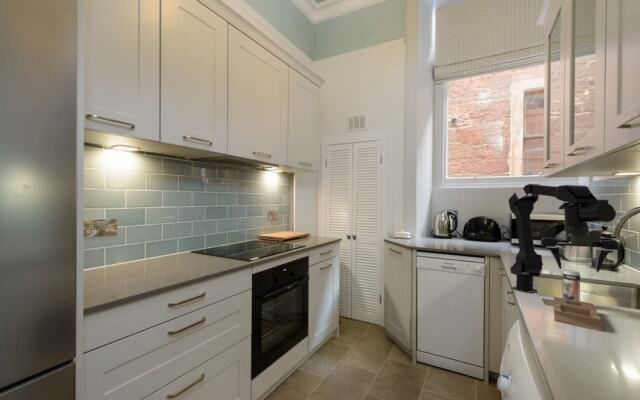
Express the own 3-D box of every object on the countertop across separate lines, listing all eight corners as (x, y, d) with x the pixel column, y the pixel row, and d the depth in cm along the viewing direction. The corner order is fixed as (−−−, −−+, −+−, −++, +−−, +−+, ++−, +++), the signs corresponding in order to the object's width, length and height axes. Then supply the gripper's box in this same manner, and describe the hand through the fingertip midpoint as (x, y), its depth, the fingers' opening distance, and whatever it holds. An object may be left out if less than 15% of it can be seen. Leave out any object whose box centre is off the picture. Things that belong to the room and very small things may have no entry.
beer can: (558, 303, 101) (559, 269, 101) (566, 301, 103) (566, 268, 103) (575, 308, 97) (576, 273, 97) (582, 306, 99) (583, 272, 99)
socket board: (553, 305, 99) (553, 296, 99) (592, 312, 93) (593, 303, 93) (554, 320, 85) (554, 310, 85) (601, 331, 79) (601, 320, 79)
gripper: (543, 221, 93) (545, 269, 91) (624, 222, 83) (628, 276, 81) (539, 222, 102) (541, 266, 101) (612, 223, 92) (615, 272, 91)
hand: (578, 270), depth 93 cm, fingers open, 9 cm apart
